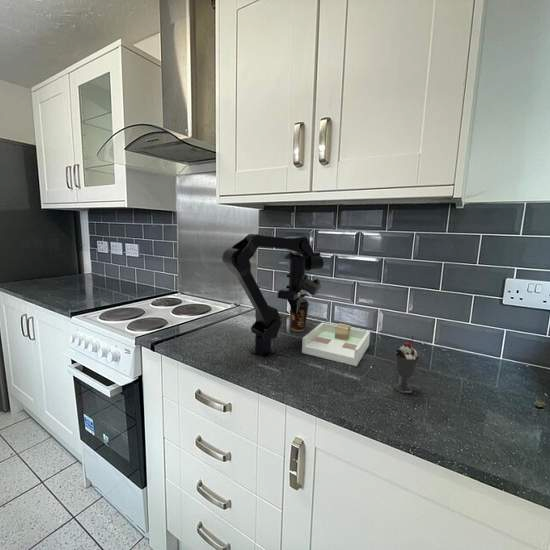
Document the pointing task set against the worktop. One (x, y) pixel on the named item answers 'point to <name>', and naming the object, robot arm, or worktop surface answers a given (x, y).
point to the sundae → (406, 363)
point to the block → (342, 331)
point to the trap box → (336, 344)
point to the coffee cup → (299, 316)
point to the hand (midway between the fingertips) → (295, 313)
